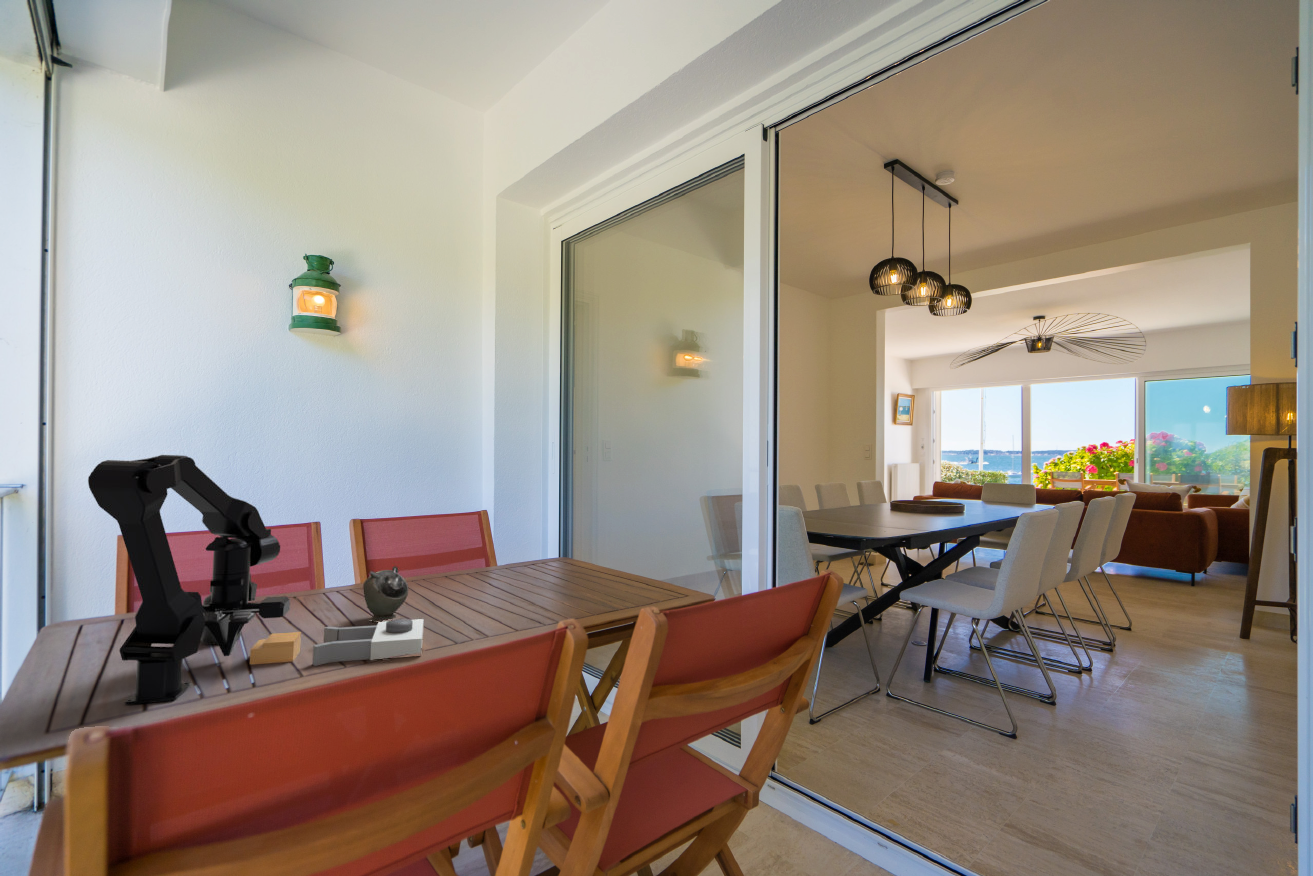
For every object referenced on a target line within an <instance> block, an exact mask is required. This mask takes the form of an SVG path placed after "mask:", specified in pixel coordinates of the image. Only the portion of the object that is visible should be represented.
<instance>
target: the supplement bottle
mask: <svg viewBox="0 0 1313 876" xmlns="http://www.w3.org/2000/svg"><path fill="white" fill-rule="evenodd" d="M209 588H210V589H209V593H210V594H209V595H207V596H206V597H205V598H204V599H203V601H202V605H209V604H210V603H211V596H212V586H209ZM235 609H239V608H235ZM217 610H224V609H217ZM225 610H226V609H225ZM233 618H234V616H233V614H230V617H229V622H230V621H231V620H232V619H233ZM229 622H228V624H229ZM241 635H242V630H241V631H240V634H239V636H238V638H237V641H238V640H239V639H240V638H241ZM200 643H202V644H205V645H218V643H217V641H216V639H215V637H214V636H213V634H212V633H211V632H210V630H209V629H208V627H207V626H205V627H204V630H203V634H202V637H201V641H200Z"/></svg>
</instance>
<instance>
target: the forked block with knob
mask: <svg viewBox="0 0 1313 876" xmlns="http://www.w3.org/2000/svg"><path fill="white" fill-rule="evenodd" d="M424 619H425V618H420V619H418V618H417V619H408V618H400V619H396V620H391V621H382V622H378V623H377V624H376V625H363V626H359V625H358V626H346V627H345V626H344V627H338V626H329V625H328V626H326V627H324V630H323V632H324V633H323V643H318V644H314V645H313V646H312V661H311V662H312V665H313V666H315V667H316V666H321V665H323V664H324V665H325V664H329V663H336V662H350V661H351V662H352V661H361V660H362V661H364V660H370V661H374V660H373V659H381V658H388V657H390V656H397V655H405V654H415V653H421V654H422V650H421V648H422V647H423V640H424V639H423V638H424ZM422 639H423V640H422ZM422 649H423V648H422Z"/></svg>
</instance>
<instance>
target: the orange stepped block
mask: <svg viewBox="0 0 1313 876" xmlns="http://www.w3.org/2000/svg"><path fill="white" fill-rule="evenodd" d="M301 637H302V632H301V631H295V632H294V631H293V632H281V633H280V632H278V633H277V632H276V633H271V634H270V635H269V636H268V637H267V638H265V639H264V638H263V639H259V640H258V641H257V642H256V643H255V644H254V645H253V646H252V647H251V648H250V652H249V654H250V655H249V665H250V666H251V665H262V664H273V663H274V664H276V663H288V662H294V661H295V659H296V658H297V656H298V654H299V653H300V651H301V640H302V639H301Z"/></svg>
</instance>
